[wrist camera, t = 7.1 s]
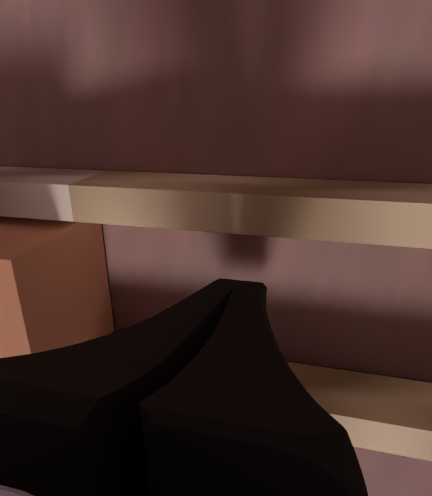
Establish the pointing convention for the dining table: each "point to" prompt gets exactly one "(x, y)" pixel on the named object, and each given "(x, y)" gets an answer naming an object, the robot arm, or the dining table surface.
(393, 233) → the chute
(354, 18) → the dining table surface
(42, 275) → the block
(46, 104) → the dining table surface
